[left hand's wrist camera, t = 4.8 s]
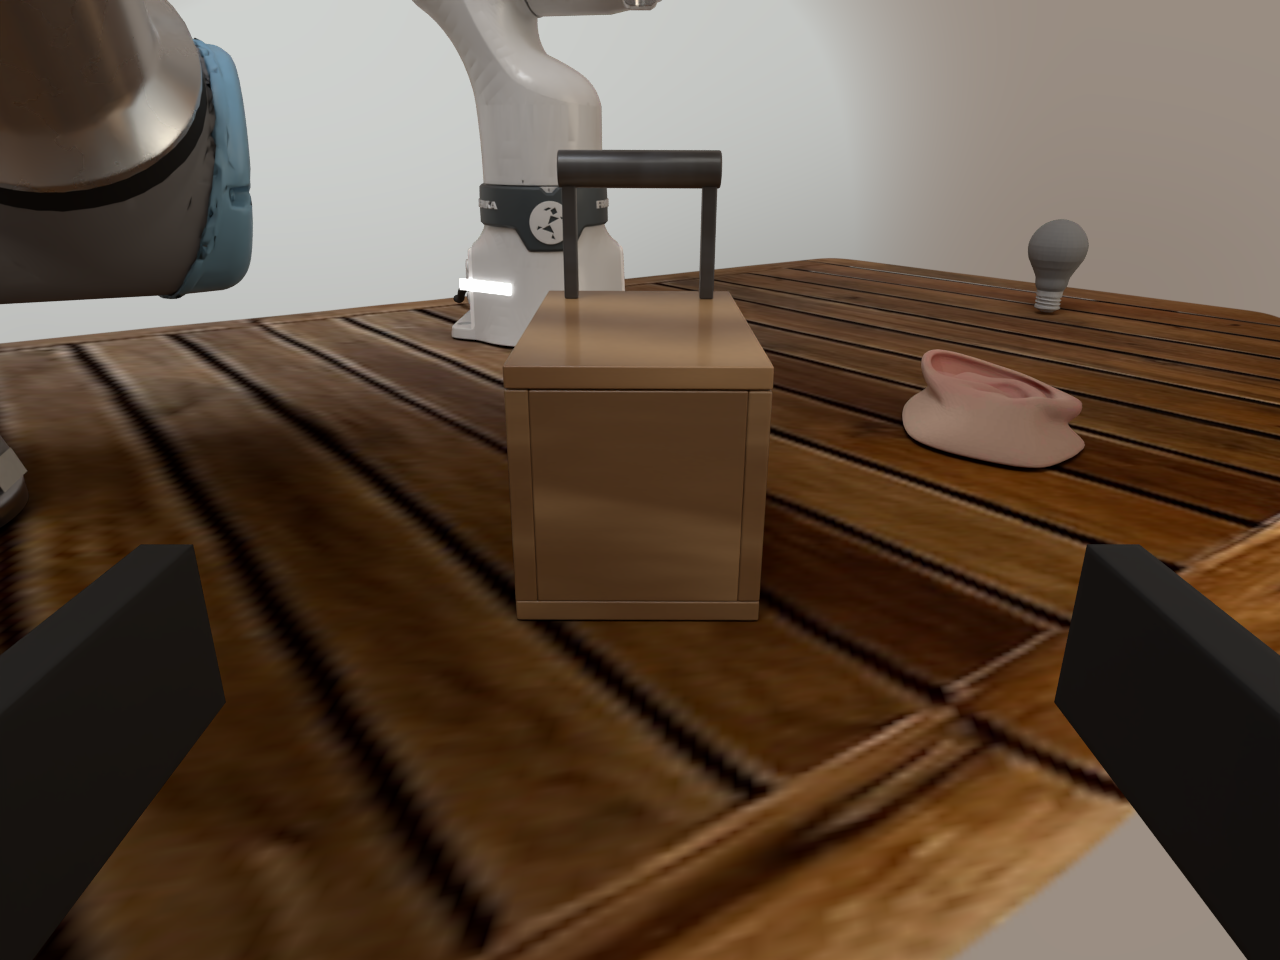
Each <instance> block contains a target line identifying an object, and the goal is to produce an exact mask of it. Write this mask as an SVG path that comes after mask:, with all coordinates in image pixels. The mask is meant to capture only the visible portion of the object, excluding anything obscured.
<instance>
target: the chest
mask: <svg viewBox="0 0 1280 960" xmlns="http://www.w3.org/2000/svg"><path fill="white" fill-rule="evenodd" d="M504 398H505V416H506V434H507V452H508V470H509V487H510V505H511V523H512V541H513V559H514V576H515V594H516V611H517V619H524V620H758V613H759V596H760V580H761V564H762V549H763V533H764V517H765V501H766V485H767V469H768V454H769V438H770V422H771V406H772V391H771V390H745V389H505V390H504Z"/></svg>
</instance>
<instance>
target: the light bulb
mask: <svg viewBox="0 0 1280 960" xmlns="http://www.w3.org/2000/svg"><path fill="white" fill-rule="evenodd" d="M1088 246H1089V245H1088V239H1087V236H1086V234H1085V232H1084V230H1083V229H1082V228H1081V227H1080V226H1079V225H1078V224H1077V223H1075V222H1072V221H1069V220H1064V219H1060V220H1054V221H1050V222H1048V223H1046V224H1044V225H1043V226H1041V227H1040V228H1039V229H1038V230H1037V231H1036V232H1035V233H1034V235H1033V236H1032V238H1031V239H1030V242H1029V246H1028V256H1029V260H1030V262H1031V265H1032V267H1033V270H1034V273H1035V276H1036V281H1035V284H1036V287H1037V294H1036V295H1038V296H1036V298H1037V300H1035V301H1036V302H1037V303H1035V306H1034V307H1036V308H1037V309H1039V310H1040V311H1042V312H1053V311H1055V310H1058V309H1060V306H1059V305H1060V303H1059V301H1061V300H1060V298H1061V297H1062V294H1063V291H1064V289H1065V288H1066V287H1067V285H1068V281H1069V279H1070V277H1071V276H1072V274H1073V273H1074V272H1075V270H1076V269H1077V268H1078V267H1079V265H1080V264H1081V263H1082V262H1083V260H1084V259H1085V257H1086V254H1087V251H1088Z"/></svg>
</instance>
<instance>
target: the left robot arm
mask: <svg viewBox="0 0 1280 960" xmlns="http://www.w3.org/2000/svg"><path fill="white" fill-rule="evenodd" d="M249 190H250V157H249V147H248V136H247V127H246V119H245V112H244V105H243V98H242V93H241V87H240V82H239V78H238V74H237V70H236V66H235V64H234V62H233V60H232V58H231V56H230V55H229V54H228V53H227V52H225V51H224V50H223V49H221V48H220V47H218V46H215V45H210V44H205V43H204V42H202V41H200V40H198V39H196V38H194V39H192V37H191V35H190V33H189V31H188V28H187V26H186V24H185V22H184V21H183V19H182V18H181V17H180V15H179V14H178V13H177V11H176V10H175V9H174V7H173V6H172V5H171V4H170V3H169V2H168V1H167V0H0V304H12V303H30V302H48V301H66V300H84V299H103V298H121V297H139V296H157V295H158V296H160V297H162V298H167V299H177V298H180V297H182V296H183V295H185V294H189V293H198V292H207V291H217V290H224V289H228V288H230V287H232V286H234V285H236V284H237V283H239V282H240V281H241V280H242V279H243V277H244V276H245V274H246V273H247V271H248V268H249V265H250V260H251V253H252V237H253V218H252V202H251V196H250V194H249ZM26 472H27V470H26V469H25V467H24V466H23V464H22V463H21V461H20V460H19V458H18V457H17V456H16V454H15V453H14V451H13V450H12V448H11V447H10V448H9V446H8V445H7V444H6V442H5V441H4V440H3V438H2V437H1V436H0V528H1V527H2V526H4V525H5V524H7V523H8V522H9V521H11V520H12V519H13V518H14V517H16V516H17V515H18V514H19V513H20V512H21V511H22V509H23V508H24V507H25V506H26V504H27V501H28V497H29V494H28V490H27V486H26V483H25V479H24V476H23V475H24V474H25V473H26ZM225 702H226V701H225V696H224V691H223V687H222V682H221V677H220V672H219V667H218V663H217V658H216V653H215V648H214V643H213V639H212V634H211V629H210V624H209V619H208V615H207V610H206V605H205V600H204V595H203V591H202V586H201V581H200V576H199V571H198V566H197V562H196V557H195V552H194V547H193V545H140V546H138V547H137V548H136V549H135V550H133V551H132V552H131V553H129V554H128V555H127V556H126V557H124V558H123V559H122V560H121V561H119V562H118V563H117V564H116V565H114V566H113V567H112V568H110V569H109V570H108V571H107V572H105V573H104V574H103V575H102V576H100V577H99V578H98V579H97V580H95V581H94V582H93V583H91V584H90V585H89V586H88V587H86V588H85V589H84V590H83V591H81V592H80V593H79V594H78V595H76V596H75V597H74V598H72V599H71V600H70V601H69V602H67V603H66V604H65V605H64V606H62V607H61V608H60V609H59V610H57V611H56V612H55V613H54V614H52V615H51V616H50V617H48V618H47V619H46V620H45V621H43V622H42V623H41V624H40V625H38V626H37V627H36V628H35V629H33V630H32V631H31V632H29V633H28V634H27V635H26V636H24V637H23V638H22V639H21V640H19V641H18V642H17V643H16V644H14V645H13V646H12V647H10V648H9V649H8V650H7V651H5V652H4V653H3V654H2V655H0V960H33V958H34V957H35V956H36V954H37V953H38V952H39V950H40V949H41V948H42V946H43V945H44V944H45V942H46V941H47V940H48V938H49V937H50V936H51V934H52V933H53V932H54V930H55V929H56V928H57V926H58V925H59V924H60V922H61V921H62V920H63V918H64V917H65V916H66V914H67V913H68V912H69V910H70V909H71V908H72V906H73V905H74V904H75V902H76V901H77V900H78V898H79V897H80V896H81V894H82V893H83V892H84V890H85V889H86V888H87V886H88V885H89V884H90V882H91V881H92V880H93V878H94V877H95V876H96V874H97V873H98V872H99V870H100V869H101V868H102V866H103V865H104V864H105V862H106V861H107V860H108V858H109V857H110V856H111V854H112V853H113V852H114V850H115V849H116V848H117V846H118V845H119V844H120V842H121V841H122V840H123V838H124V837H125V836H126V834H127V833H128V832H129V830H130V829H131V828H132V826H133V825H134V824H135V822H136V821H137V820H138V818H139V817H140V816H141V814H142V813H143V812H144V810H145V809H146V808H147V806H148V805H149V804H150V802H151V801H152V800H153V798H154V797H155V796H156V794H157V793H158V792H159V790H160V789H161V788H162V786H163V785H164V784H165V782H166V781H167V780H168V778H169V777H170V776H171V774H172V773H173V772H174V770H175V769H176V768H177V766H178V765H179V764H180V762H181V761H182V760H183V758H184V757H185V756H186V754H187V753H188V752H189V750H190V749H191V748H192V746H193V745H194V744H195V742H196V741H197V740H198V738H199V737H200V736H201V734H202V733H203V732H204V730H205V729H206V728H207V726H208V725H209V724H210V722H211V721H212V720H213V718H214V717H215V716H216V714H217V713H218V712H219V710H220V709H221V708H222V706H223V705H224V704H225ZM1054 702H1055V704H1056V705H1057V706H1058V708H1059V709H1060V710H1061V712H1062V713H1063V714H1064V716H1065V717H1066V718H1067V720H1068V721H1069V722H1070V724H1071V725H1072V726H1073V728H1074V729H1075V730H1076V732H1077V733H1078V734H1079V736H1080V737H1081V738H1082V740H1083V741H1084V742H1085V744H1086V745H1087V746H1088V748H1089V749H1090V750H1091V752H1092V753H1093V754H1094V756H1095V757H1096V758H1097V760H1098V761H1099V762H1100V764H1101V765H1102V766H1103V768H1104V769H1105V770H1106V772H1107V773H1108V774H1109V776H1110V777H1111V778H1112V780H1113V781H1114V782H1115V784H1116V785H1117V786H1118V788H1119V789H1120V790H1121V792H1122V793H1123V794H1124V796H1125V797H1126V798H1127V800H1128V801H1129V802H1130V804H1131V805H1132V806H1133V808H1134V809H1135V810H1136V812H1137V813H1138V814H1139V816H1140V817H1141V818H1142V820H1143V821H1144V822H1145V824H1146V825H1147V826H1148V828H1149V829H1150V830H1151V832H1152V833H1153V834H1154V836H1155V837H1156V838H1157V840H1158V841H1159V842H1160V844H1161V845H1162V846H1163V848H1164V849H1165V850H1166V852H1167V853H1168V854H1169V856H1170V857H1171V858H1172V860H1173V861H1174V862H1175V864H1176V865H1177V866H1178V868H1179V869H1180V870H1181V872H1182V873H1183V874H1184V876H1185V877H1186V878H1187V880H1188V881H1189V882H1190V884H1191V885H1192V886H1193V888H1194V889H1195V890H1196V892H1197V893H1198V894H1199V896H1200V897H1201V898H1202V900H1203V901H1204V902H1205V904H1206V905H1207V906H1208V908H1209V909H1210V910H1211V912H1212V913H1213V914H1214V916H1215V917H1216V918H1217V920H1218V921H1219V922H1220V924H1221V925H1222V926H1223V928H1224V929H1225V930H1226V932H1227V933H1228V934H1229V936H1230V937H1231V938H1232V940H1233V941H1234V942H1235V944H1236V945H1237V946H1238V948H1239V949H1240V950H1241V952H1242V953H1243V954H1244V956H1245V957H1246V958H1247V960H1280V655H1278V654H1277V653H1276V652H1275V651H1273V650H1272V649H1271V648H1270V647H1268V646H1267V645H1266V644H1264V643H1263V642H1262V641H1261V640H1259V639H1258V638H1257V637H1256V636H1254V635H1253V634H1252V633H1251V632H1249V631H1248V630H1247V629H1245V628H1244V627H1243V626H1242V625H1240V624H1239V623H1238V622H1237V621H1235V620H1234V619H1233V618H1232V617H1230V616H1229V615H1228V614H1226V613H1225V612H1224V611H1223V610H1221V609H1220V608H1219V607H1218V606H1216V605H1215V604H1214V603H1213V602H1211V601H1210V600H1209V599H1208V598H1206V597H1205V596H1204V595H1202V594H1201V593H1200V592H1199V591H1197V590H1196V589H1195V588H1194V587H1192V586H1191V585H1190V584H1189V583H1187V582H1186V581H1185V580H1183V579H1182V578H1181V577H1180V576H1178V575H1177V574H1176V573H1175V572H1173V571H1172V570H1171V569H1170V568H1168V567H1167V566H1166V565H1164V564H1163V563H1162V562H1161V561H1159V560H1158V559H1157V558H1156V557H1154V556H1153V555H1152V554H1151V553H1149V552H1148V551H1147V550H1145V549H1144V548H1143V547H1142V546H1140V545H1087V547H1086V552H1085V557H1084V562H1083V566H1082V571H1081V576H1080V581H1079V586H1078V591H1077V595H1076V600H1075V605H1074V610H1073V615H1072V619H1071V624H1070V629H1069V634H1068V639H1067V643H1066V648H1065V653H1064V658H1063V663H1062V667H1061V672H1060V677H1059V682H1058V687H1057V691H1056V696H1055V701H1054Z"/></svg>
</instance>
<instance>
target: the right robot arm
mask: <svg viewBox="0 0 1280 960" xmlns="http://www.w3.org/2000/svg"><path fill="white" fill-rule="evenodd" d="M412 1H413V2H414V3H415V4H416V5H417V6H418V7H420V8H421V9H422V10H423V11H425V12H426V13H427V14H428V15H429V16H431V17H432V18H433V19H434V20H435V21H436V22H437V23H438V25H439V26H440V27H441V28H442V29H443V30H444V32H445V33H446V34H447V36H448V37H449V39H450V40H451V41H452V43H453V45H454V46H455V48H456V50H457V51H458V53H459V55H460V57H461V59H462V61H463V63H464V66H465V68H466V71H467V73H468V75H469V78H470V82H471V85H472V88H473V92H474V96H475V101H476V108H477V115H478V123H479V132H480V140H481V151H482V164H483V179H484V183H483V184H481V185H480V198H479V207H480V214H481V222H482V223H483V224H484V225H485V226H484V229H483V231H482V233H481V235H480V237H479V238H478V240H476V242H474V243H473V245H472V247H471V248H469V249H468V259H466V279H459V280H460V288H459V290H458V295H455V296H454V301H455V302H457V303H461V302H463V301H464V297H465V293H466V292H467V291H468V295H467V298H468V302H469V304H470V310H469V311H468V312H467V313H466V314H465V315H464V316H463V317H462V318H461V319H460V320H458V321H457V322H456V323H455V324H454V325H453V326H452V337H455V338H462V339H473V340H480V341H484V342H488V343H493V344H498V345H505V346H516V344H517V343H518V341H519V339H520V338H521V336H522V334H523V333H524V331H525V329H526V328H527V326H528V324H529V323H530V321H531V320H532V318H533V316H534V315H535V313H536V311H537V310H538V308H539V306H540V305H541V303H542V302H543V300H544V298H545V297H546V295H547V293H548V292H549V291H564V261H563V225H562V190H561V188H560V187H559V186H558V180H557V152H558V150H602V117H601V103H600V100H599V97H598V95H597V92H596V90H595V89H594V87H593V85H592V84H591V83H590V82H589V81H588V80H587V79H586V78H585V77H584V76H583V75H581V74H580V73H579V72H577V71H576V70H574V69H573V68H571V67H569V66H568V65H566V64H564V63H562V62H561V61H559V60H557V59H555V58H553V57H551V56H549V55H547V54H546V52H545V51H544V49H543V47H542V45H541V42H540V39H539V34H538V27H537V18H540V17H543V16H576V15H611V14H615V13H620V12H623V11H628V10H651V9H653V8H654V7H655V6H656V4H657V2H660V1H661V0H412ZM607 207H608V198H607V188H577V231H578V277H579V291H625V282H624V260H623V249H622V246H620V245H619V244H618V243H617V241H615V240H614V239H613V238H612V237H611V236H610V235H609V233H608V232H607V230H606V228H605V225H604V224H605V223H606V222H607V221H608V212H607Z"/></svg>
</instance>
